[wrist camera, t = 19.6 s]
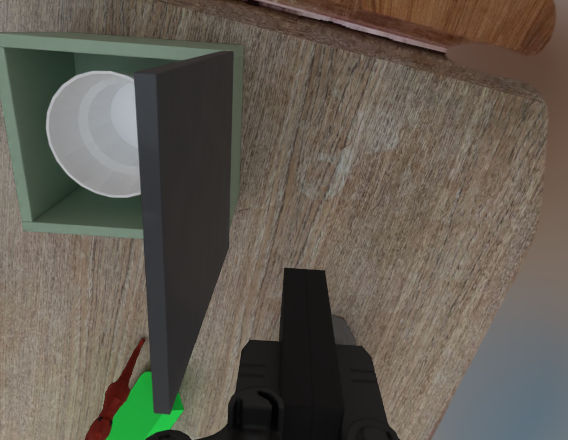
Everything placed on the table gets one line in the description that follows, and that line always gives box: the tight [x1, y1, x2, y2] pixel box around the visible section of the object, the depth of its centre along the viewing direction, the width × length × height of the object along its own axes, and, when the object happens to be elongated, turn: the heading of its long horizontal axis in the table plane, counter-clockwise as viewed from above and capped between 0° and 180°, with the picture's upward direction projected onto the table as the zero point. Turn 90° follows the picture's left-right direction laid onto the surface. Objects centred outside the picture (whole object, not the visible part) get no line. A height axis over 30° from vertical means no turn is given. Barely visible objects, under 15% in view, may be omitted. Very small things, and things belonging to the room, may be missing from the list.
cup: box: [46, 71, 141, 198], centre depth 40 cm, size 10×10×10 cm
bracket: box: [106, 372, 184, 440], centre depth 60 cm, size 20×10×7 cm, turn 147°
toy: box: [85, 338, 145, 440], centre depth 49 cm, size 2×5×15 cm, turn 148°
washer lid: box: [134, 51, 234, 415], centre depth 26 cm, size 18×15×1 cm
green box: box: [0, 32, 244, 239], centre depth 40 cm, size 17×15×12 cm
